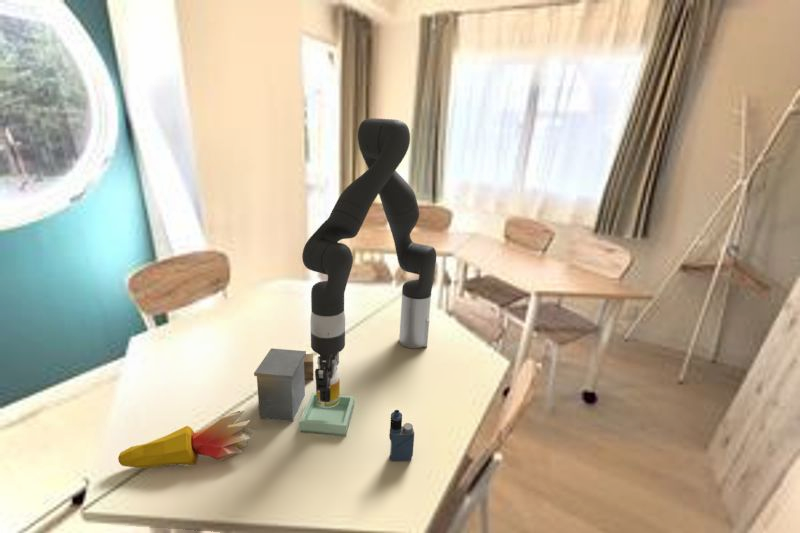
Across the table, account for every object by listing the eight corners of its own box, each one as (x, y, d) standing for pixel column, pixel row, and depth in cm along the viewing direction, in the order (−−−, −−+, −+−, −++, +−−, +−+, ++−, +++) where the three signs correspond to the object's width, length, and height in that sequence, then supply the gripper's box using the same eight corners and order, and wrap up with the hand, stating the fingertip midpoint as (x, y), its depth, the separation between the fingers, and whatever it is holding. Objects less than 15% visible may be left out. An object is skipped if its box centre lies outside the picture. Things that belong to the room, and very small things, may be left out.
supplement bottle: (343, 397, 98) (343, 362, 95) (332, 411, 94) (332, 375, 90) (323, 392, 100) (323, 357, 97) (312, 405, 95) (311, 369, 92)
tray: (354, 406, 103) (354, 396, 102) (346, 436, 93) (346, 425, 92) (312, 402, 104) (312, 392, 103) (300, 432, 94) (299, 421, 93)
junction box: (306, 394, 107) (305, 351, 103) (294, 422, 97) (292, 376, 92) (273, 391, 107) (271, 348, 103) (257, 419, 97) (253, 372, 93)
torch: (130, 481, 84) (258, 441, 91) (115, 495, 76) (256, 451, 84) (124, 440, 84) (251, 404, 92) (108, 451, 77) (248, 411, 84)
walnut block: (313, 372, 116) (313, 353, 114) (313, 380, 113) (313, 361, 111) (298, 373, 116) (298, 354, 114) (298, 381, 112) (297, 362, 110)
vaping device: (387, 453, 89) (390, 407, 85) (411, 452, 90) (415, 406, 86) (388, 462, 87) (391, 415, 83) (413, 461, 87) (416, 415, 83)
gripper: (338, 346, 84) (337, 414, 89) (350, 315, 97) (349, 376, 103) (301, 343, 84) (303, 411, 89) (319, 312, 97) (320, 373, 103)
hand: (328, 392), depth 96 cm, fingers closed on supplement bottle, 5 cm apart
